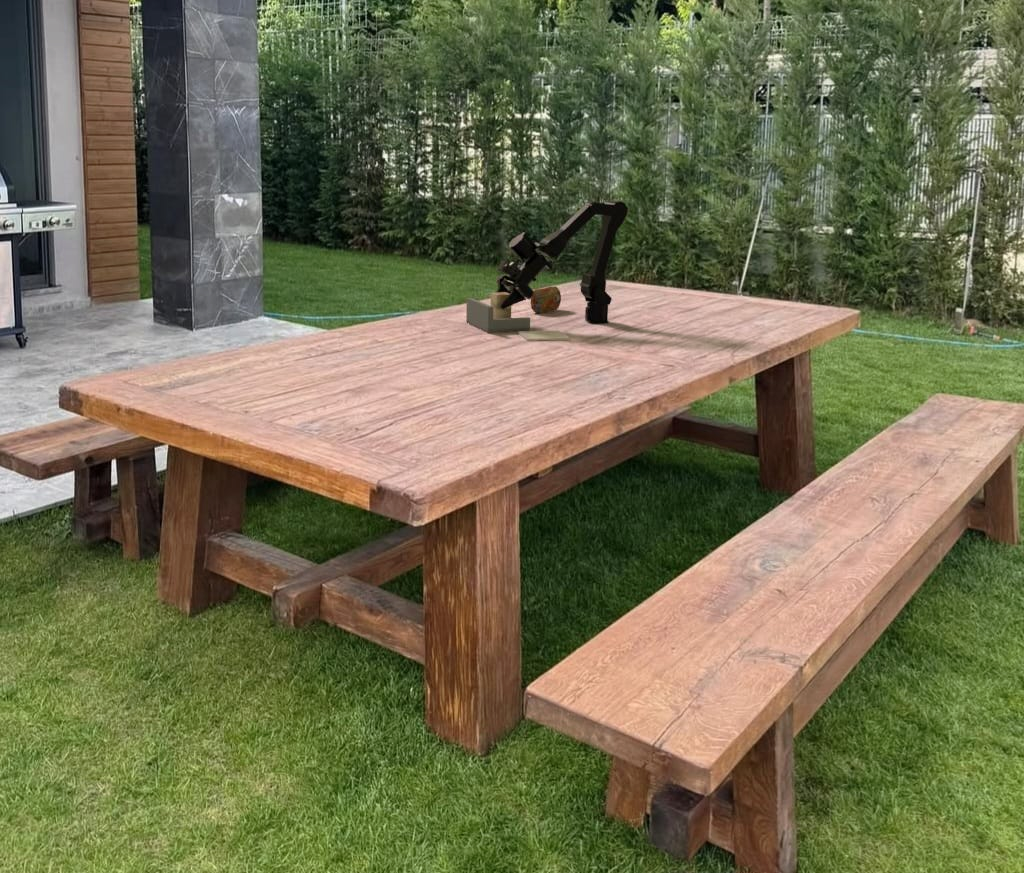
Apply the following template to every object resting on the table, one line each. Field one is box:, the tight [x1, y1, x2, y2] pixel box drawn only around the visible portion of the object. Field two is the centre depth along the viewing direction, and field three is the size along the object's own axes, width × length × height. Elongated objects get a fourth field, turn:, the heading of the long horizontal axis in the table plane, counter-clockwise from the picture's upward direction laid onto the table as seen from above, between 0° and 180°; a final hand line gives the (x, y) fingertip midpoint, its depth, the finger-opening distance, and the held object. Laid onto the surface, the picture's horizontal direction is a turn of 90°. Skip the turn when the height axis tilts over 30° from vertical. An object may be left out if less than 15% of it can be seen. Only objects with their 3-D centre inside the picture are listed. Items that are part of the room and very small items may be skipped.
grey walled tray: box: [465, 297, 531, 334], centre depth 349 cm, size 14×19×8 cm
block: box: [490, 291, 512, 319], centre depth 348 cm, size 5×5×8 cm
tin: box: [530, 286, 562, 314], centre depth 380 cm, size 15×3×8 cm, turn 143°
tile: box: [517, 330, 571, 342], centre depth 335 cm, size 13×13×1 cm
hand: (496, 306), depth 348 cm, fingers open, 8 cm apart
